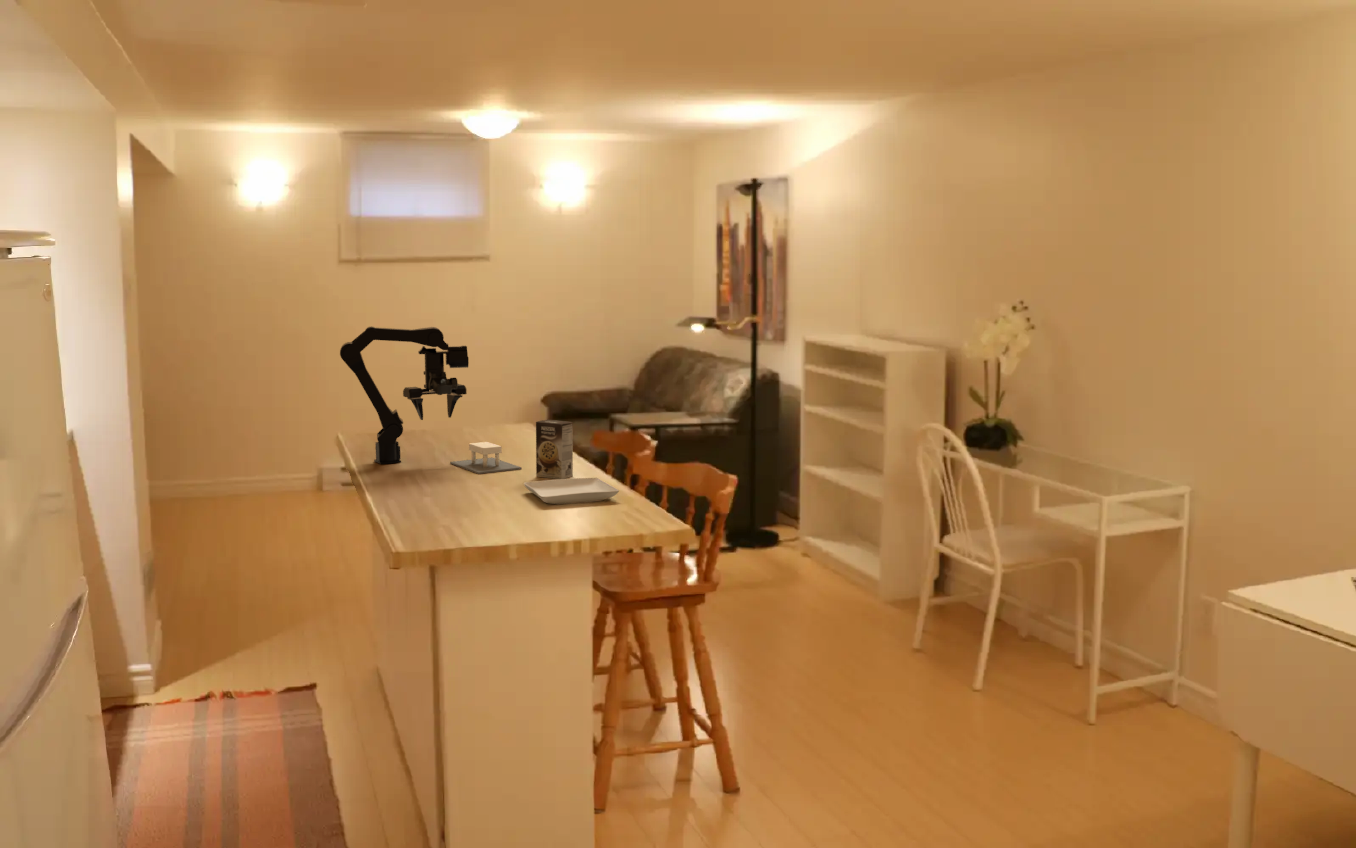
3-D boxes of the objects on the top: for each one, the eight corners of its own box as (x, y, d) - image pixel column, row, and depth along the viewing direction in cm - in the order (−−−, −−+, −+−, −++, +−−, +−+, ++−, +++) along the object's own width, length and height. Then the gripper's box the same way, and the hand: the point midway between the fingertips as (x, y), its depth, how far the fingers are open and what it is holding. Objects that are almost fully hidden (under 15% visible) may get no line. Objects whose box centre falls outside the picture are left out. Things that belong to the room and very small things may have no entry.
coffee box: (535, 476, 345) (534, 421, 343) (547, 473, 351) (547, 418, 349) (561, 479, 341) (561, 424, 339) (573, 476, 347) (573, 421, 345)
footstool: (469, 463, 363) (468, 443, 362) (487, 461, 367) (486, 441, 366) (483, 468, 355) (483, 448, 354) (501, 466, 358) (501, 446, 358)
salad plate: (522, 493, 325) (522, 480, 324) (597, 487, 332) (597, 475, 332) (541, 509, 305) (541, 496, 305) (620, 503, 313) (620, 490, 312)
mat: (478, 474, 349) (478, 472, 349) (450, 463, 365) (450, 461, 365) (521, 469, 357) (521, 467, 357) (492, 459, 373) (492, 457, 373)
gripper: (415, 372, 355) (417, 424, 357) (473, 369, 366) (474, 419, 368) (401, 369, 364) (403, 419, 366) (458, 365, 375) (459, 415, 377)
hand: (435, 418), depth 369 cm, fingers open, 9 cm apart
